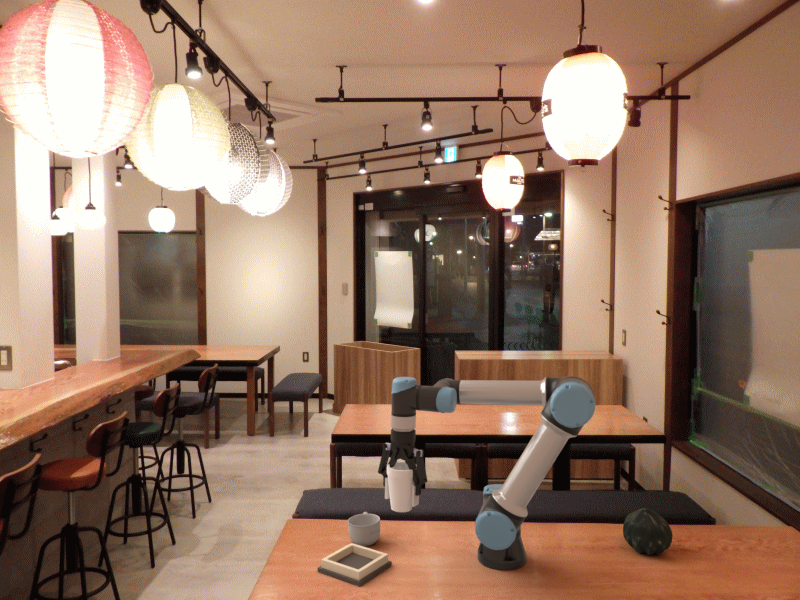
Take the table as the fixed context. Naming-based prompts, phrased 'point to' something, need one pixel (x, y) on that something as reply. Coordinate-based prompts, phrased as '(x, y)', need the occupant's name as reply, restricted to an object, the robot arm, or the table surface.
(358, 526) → the teacup
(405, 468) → the foam cup
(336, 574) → the tray
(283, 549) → the table surface
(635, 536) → the squash
